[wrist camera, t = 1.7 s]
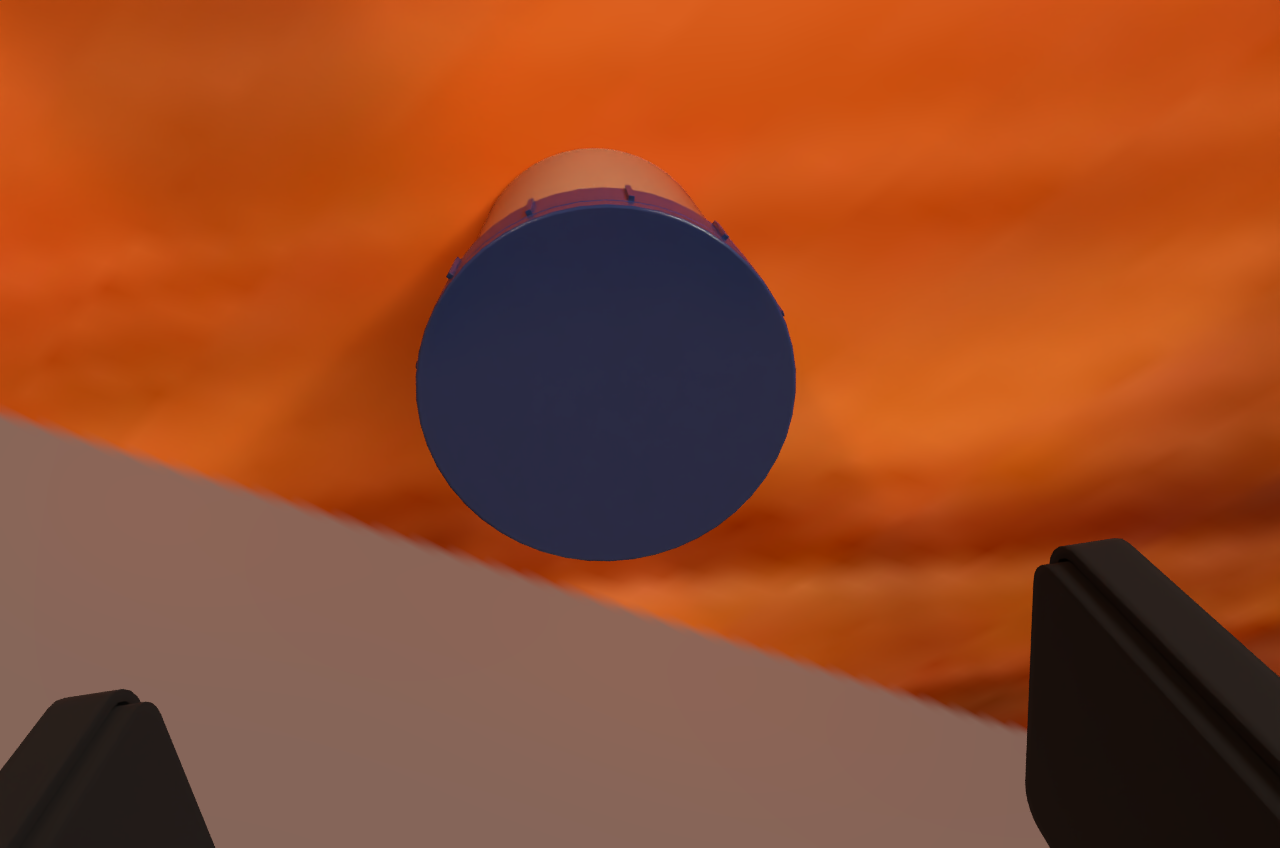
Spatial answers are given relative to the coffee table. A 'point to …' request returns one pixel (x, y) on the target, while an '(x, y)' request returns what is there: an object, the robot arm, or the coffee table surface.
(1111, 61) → the coffee table surface
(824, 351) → the coffee table surface
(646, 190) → the jar
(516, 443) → the jar lid
